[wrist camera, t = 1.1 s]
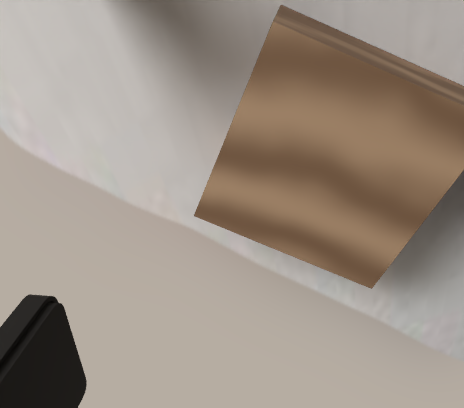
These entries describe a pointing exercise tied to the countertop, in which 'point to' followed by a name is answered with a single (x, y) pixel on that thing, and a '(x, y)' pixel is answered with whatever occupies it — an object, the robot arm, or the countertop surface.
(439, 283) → the countertop surface
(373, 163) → the walnut block
